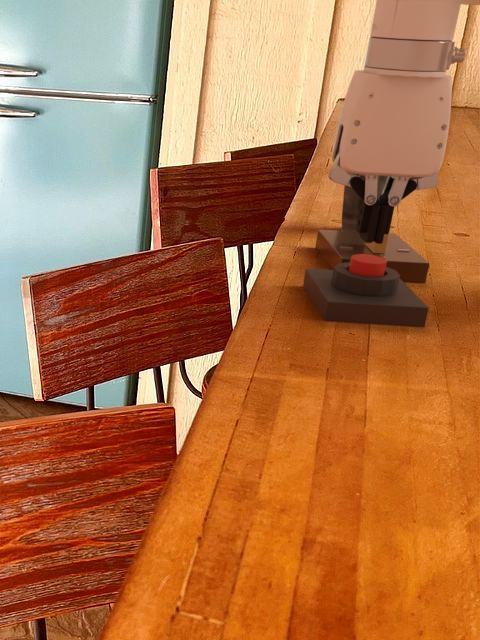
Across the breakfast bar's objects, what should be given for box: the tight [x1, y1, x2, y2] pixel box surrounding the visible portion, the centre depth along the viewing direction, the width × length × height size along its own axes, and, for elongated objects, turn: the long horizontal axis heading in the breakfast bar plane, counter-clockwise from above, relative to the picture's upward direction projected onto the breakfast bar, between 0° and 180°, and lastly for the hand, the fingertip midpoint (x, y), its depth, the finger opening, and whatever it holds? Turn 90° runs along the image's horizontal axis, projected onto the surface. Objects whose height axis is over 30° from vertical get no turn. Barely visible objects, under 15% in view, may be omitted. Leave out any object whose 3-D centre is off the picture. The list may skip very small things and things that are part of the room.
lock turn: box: [365, 232, 390, 254], centre depth 108 cm, size 4×1×5 cm, turn 173°
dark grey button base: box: [302, 262, 430, 328], centre depth 96 cm, size 10×12×4 cm
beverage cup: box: [340, 172, 388, 232], centre depth 124 cm, size 7×7×20 cm
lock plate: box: [314, 229, 431, 284], centre depth 112 cm, size 10×14×3 cm
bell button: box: [348, 254, 387, 277], centre depth 95 cm, size 4×4×2 cm
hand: (370, 239), depth 94 cm, fingers closed
